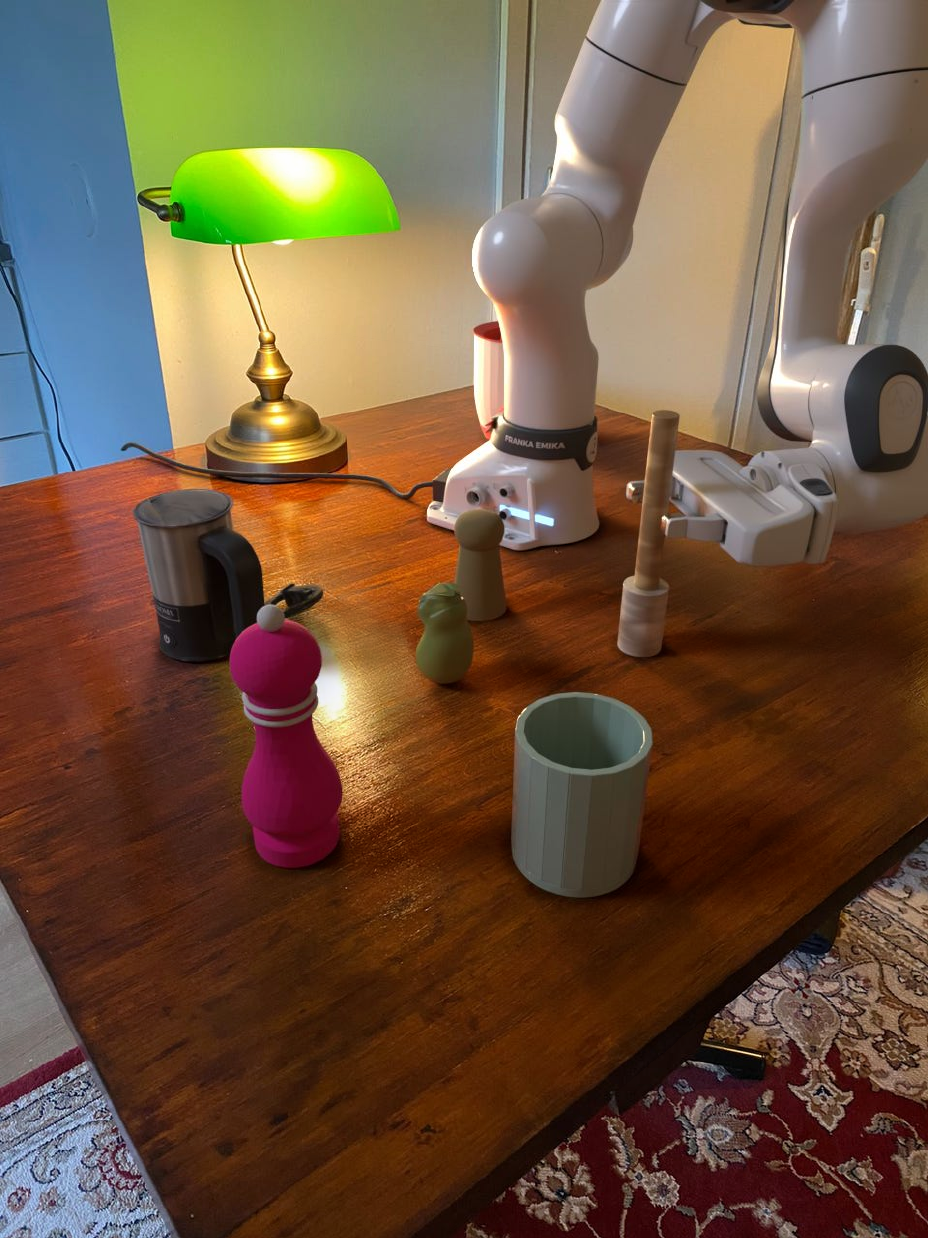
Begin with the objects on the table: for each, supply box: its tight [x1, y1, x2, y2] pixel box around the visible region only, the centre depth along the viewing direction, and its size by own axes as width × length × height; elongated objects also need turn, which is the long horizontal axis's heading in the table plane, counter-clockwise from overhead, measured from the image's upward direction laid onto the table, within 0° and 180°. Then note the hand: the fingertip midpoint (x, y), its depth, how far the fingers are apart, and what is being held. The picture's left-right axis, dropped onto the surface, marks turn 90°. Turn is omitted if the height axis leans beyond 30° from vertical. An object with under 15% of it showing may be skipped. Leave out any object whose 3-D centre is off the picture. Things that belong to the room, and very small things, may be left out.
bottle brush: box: [616, 409, 681, 658], centre depth 86 cm, size 4×4×24 cm
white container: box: [472, 320, 505, 441], centre depth 143 cm, size 16×17×20 cm
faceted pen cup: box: [510, 691, 654, 899], centre depth 64 cm, size 9×9×11 cm
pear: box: [414, 582, 475, 685], centre depth 84 cm, size 6×5×10 cm
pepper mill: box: [228, 605, 344, 869], centre depth 63 cm, size 7×7×20 cm
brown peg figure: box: [453, 509, 507, 622], centre depth 96 cm, size 6×6×11 cm
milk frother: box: [131, 488, 324, 663], centre depth 91 cm, size 14×16×15 cm
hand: (646, 509), depth 84 cm, fingers open, 7 cm apart
